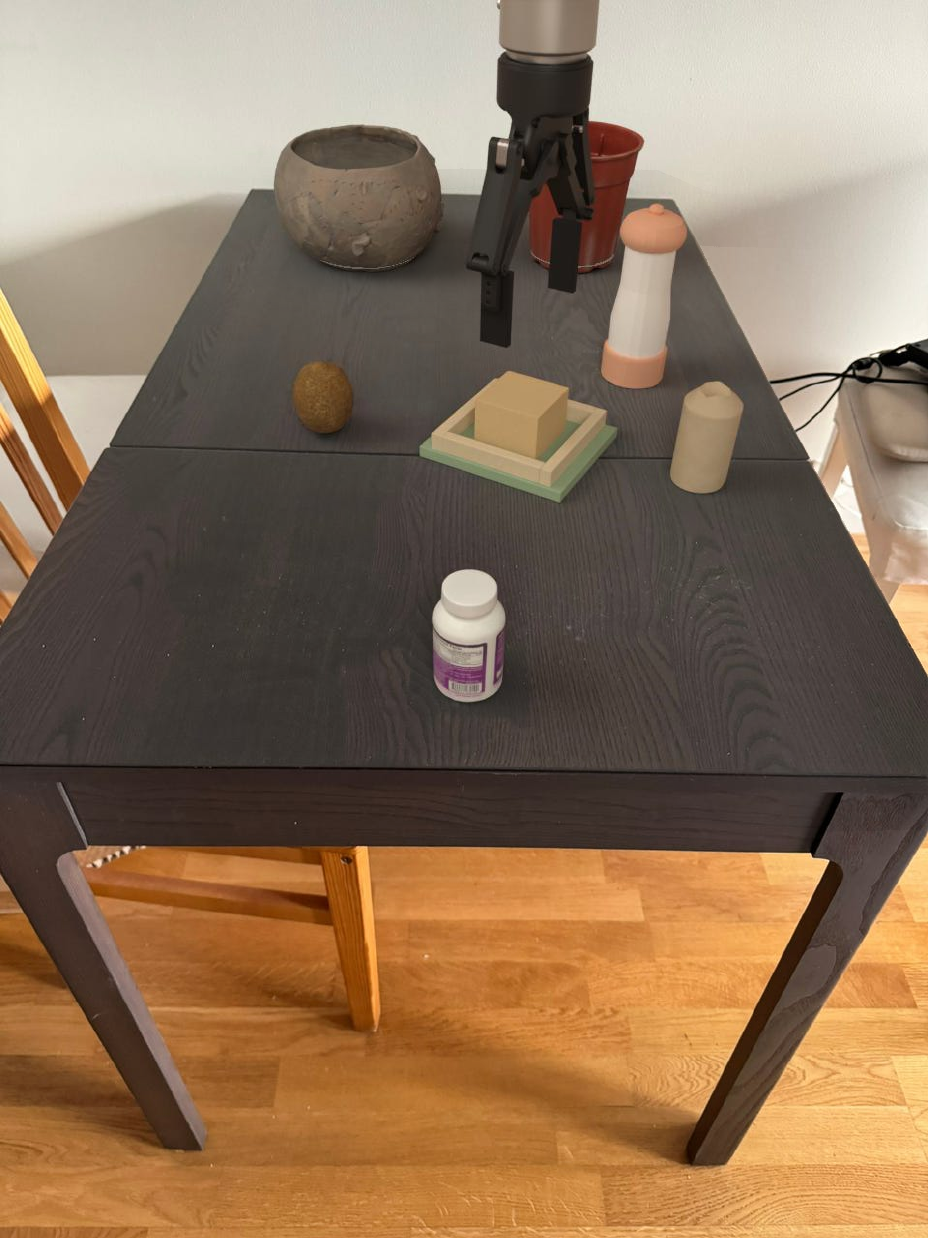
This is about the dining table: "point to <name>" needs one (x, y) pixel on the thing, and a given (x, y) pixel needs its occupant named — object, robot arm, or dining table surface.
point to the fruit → (323, 397)
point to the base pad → (538, 476)
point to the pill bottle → (468, 637)
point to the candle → (706, 438)
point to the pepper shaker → (643, 298)
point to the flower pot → (611, 177)
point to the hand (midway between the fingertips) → (530, 315)
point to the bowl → (359, 195)
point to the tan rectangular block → (521, 414)
